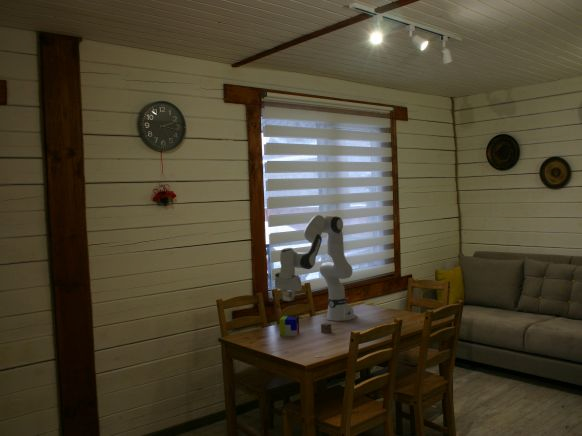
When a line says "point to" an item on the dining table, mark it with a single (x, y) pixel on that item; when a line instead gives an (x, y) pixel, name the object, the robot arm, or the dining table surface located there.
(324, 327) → the block walnut
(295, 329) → the puzzle toy
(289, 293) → the block birch
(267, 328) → the dining table surface
